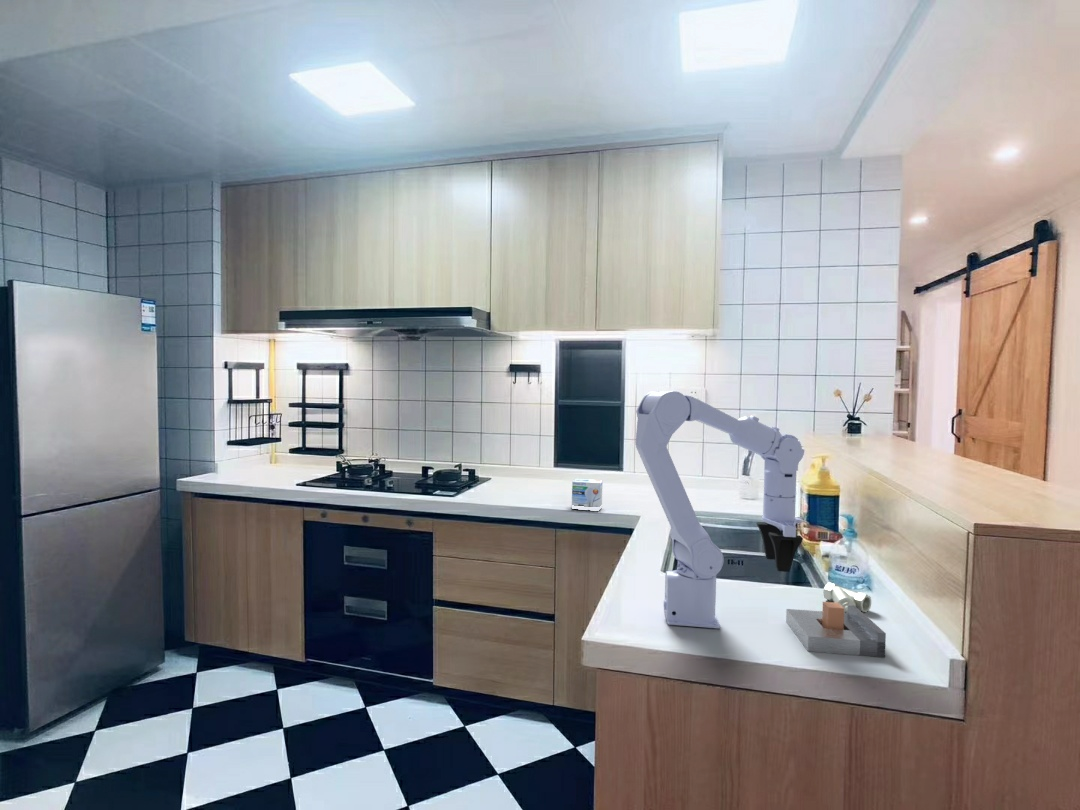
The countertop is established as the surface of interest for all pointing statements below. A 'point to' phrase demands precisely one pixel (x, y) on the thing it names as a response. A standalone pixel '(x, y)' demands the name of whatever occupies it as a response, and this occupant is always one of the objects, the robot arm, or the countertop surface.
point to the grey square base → (838, 633)
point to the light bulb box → (587, 493)
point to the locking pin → (833, 616)
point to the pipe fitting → (847, 597)
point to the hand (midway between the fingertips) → (777, 564)
